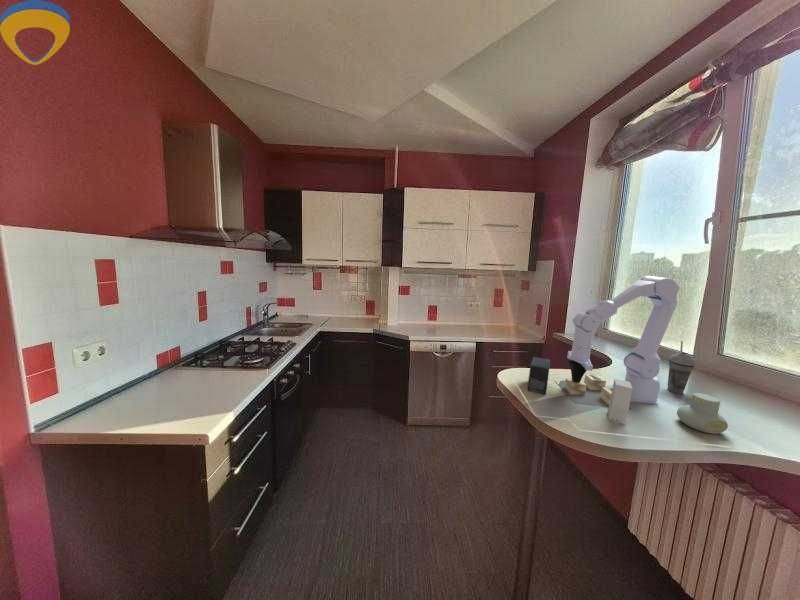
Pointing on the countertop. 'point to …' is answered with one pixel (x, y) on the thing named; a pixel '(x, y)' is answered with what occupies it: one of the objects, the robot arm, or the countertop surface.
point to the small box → (538, 375)
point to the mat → (585, 396)
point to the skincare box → (620, 401)
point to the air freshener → (703, 414)
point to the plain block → (575, 387)
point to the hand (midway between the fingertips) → (575, 381)
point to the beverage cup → (679, 371)
